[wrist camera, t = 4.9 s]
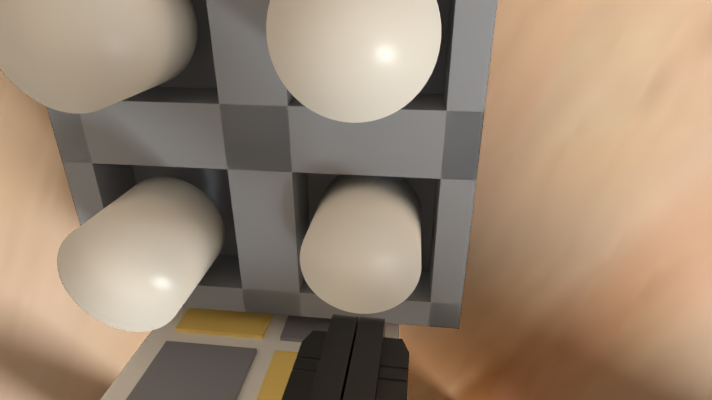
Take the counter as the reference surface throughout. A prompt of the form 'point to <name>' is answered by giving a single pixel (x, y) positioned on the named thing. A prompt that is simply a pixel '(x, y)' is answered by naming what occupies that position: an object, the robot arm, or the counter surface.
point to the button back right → (364, 244)
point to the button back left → (142, 254)
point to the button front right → (354, 53)
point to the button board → (279, 193)
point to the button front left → (94, 48)
